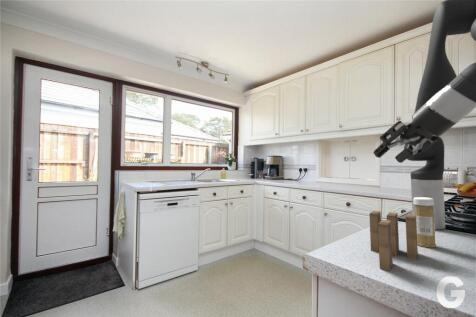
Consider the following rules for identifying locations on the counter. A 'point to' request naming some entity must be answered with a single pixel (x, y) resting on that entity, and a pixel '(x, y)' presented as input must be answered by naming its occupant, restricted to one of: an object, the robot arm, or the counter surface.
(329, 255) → the counter surface
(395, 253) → the domino
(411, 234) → the domino
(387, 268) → the domino
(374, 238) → the end domino
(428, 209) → the sprinkles bottle
